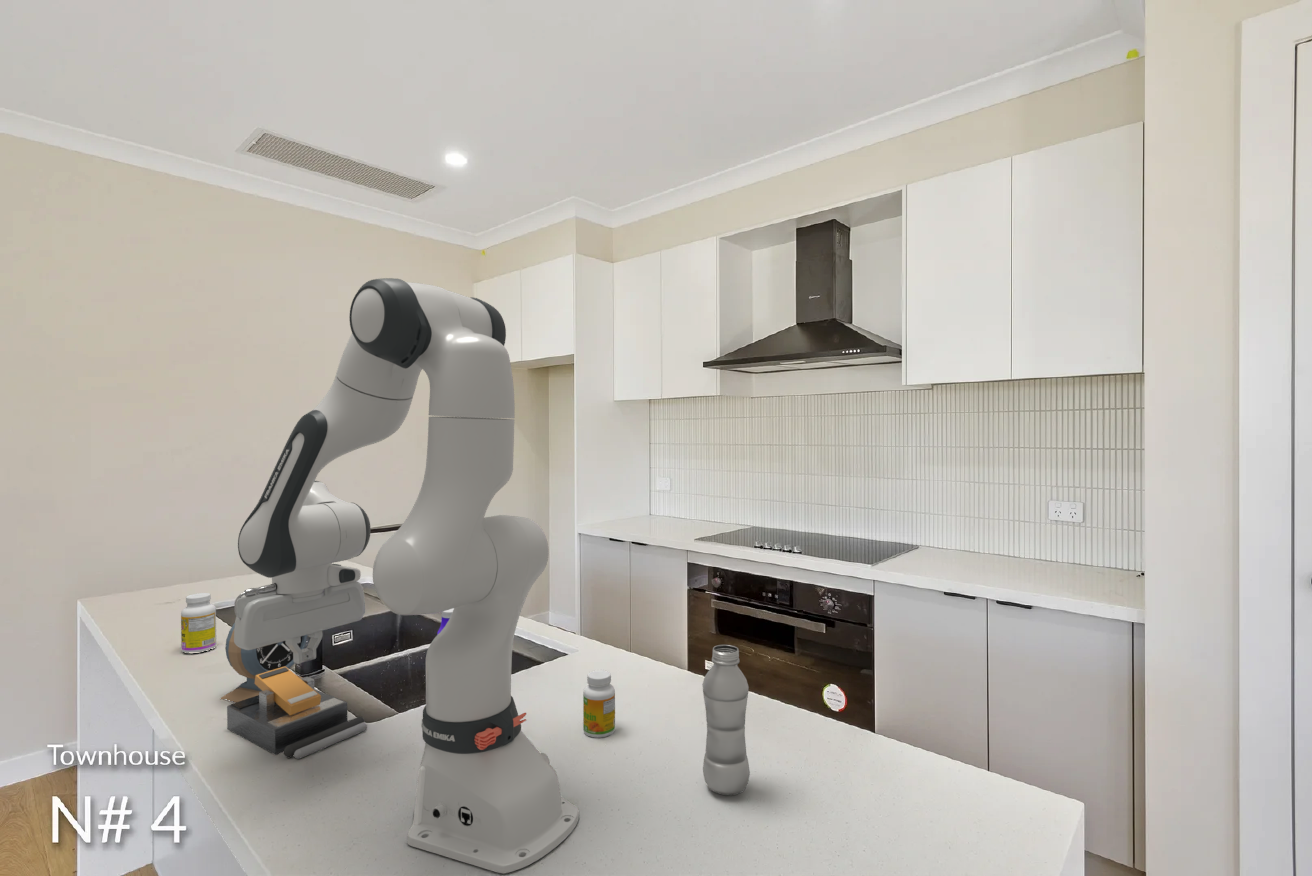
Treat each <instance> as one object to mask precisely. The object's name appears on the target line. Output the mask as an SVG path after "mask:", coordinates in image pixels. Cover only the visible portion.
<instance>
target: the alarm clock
mask: <svg viewBox="0 0 1312 876" xmlns="http://www.w3.org/2000/svg"><path fill="white" fill-rule="evenodd" d="M234 628H235V622H234V623H233V625H232V626H231V628H230V629H229V630H228V634H227V637H226V640H225V646H224V647H225V654H226V659H227V661H228V663H229V666H230V667H232V669H233V670H234V671H235V672H236V673H238V675H240V676H242V677H244V678H246V681H244V682H242V683H240V685H238V686H237V687H235V688H234V689H233V690H232V691H229V692H228V693H226V694H224V695H222V696H221V697H220V698H221V699H227V700H230V701H229V702H231V701H234V702H233V703H236V702H239V701H242V700H245V699H248V698H251V697H254V696H257V695H259V692H261V691H262V690H261V689H260V688H259V687H258V686H257V685H255V675H258V674H261V673H264V672H268V671H271V670H274V669H278V668H281V667H284V666H285V667H287V668H288V669H289V670H290V668H291V667H293V665H295V664H296V663H294V661H293V652H292V651H291V650H290V648H289V647H288V646H287V645H286V641H282V642H278V643H274V644H271V645H267V646H263V647H260V648H256V649H252V650H245V649H242V648H239V647H238V646H237V645H236V644H235V643H234ZM307 637H308V634H307V635H304V636H301V642H300V643H297V645H298V646H299V647H300V649H301V650H302V649H305V646H306V643H307V641H308V639H307ZM297 676H298V677H299V678H300V679H301V678H304V676H303V677H302V676H300V675H297ZM221 699H220V700H221Z"/></svg>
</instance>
